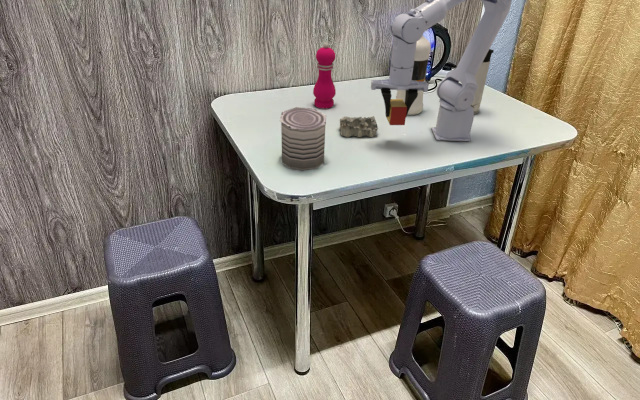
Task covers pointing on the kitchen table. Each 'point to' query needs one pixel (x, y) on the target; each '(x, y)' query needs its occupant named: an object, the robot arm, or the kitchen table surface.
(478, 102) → the travel mug
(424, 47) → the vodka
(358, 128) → the egg carton
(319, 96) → the pepper mill
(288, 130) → the can
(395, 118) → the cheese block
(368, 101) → the kitchen table surface
